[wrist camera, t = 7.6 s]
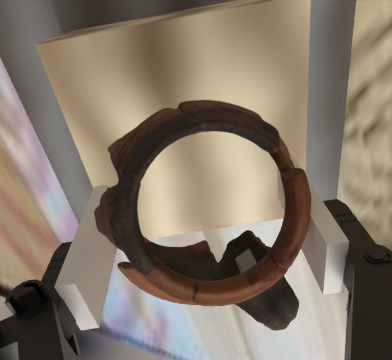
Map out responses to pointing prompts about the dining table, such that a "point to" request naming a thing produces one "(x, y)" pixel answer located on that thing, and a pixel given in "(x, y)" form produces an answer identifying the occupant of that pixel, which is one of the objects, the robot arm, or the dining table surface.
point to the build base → (96, 11)
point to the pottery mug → (200, 252)
